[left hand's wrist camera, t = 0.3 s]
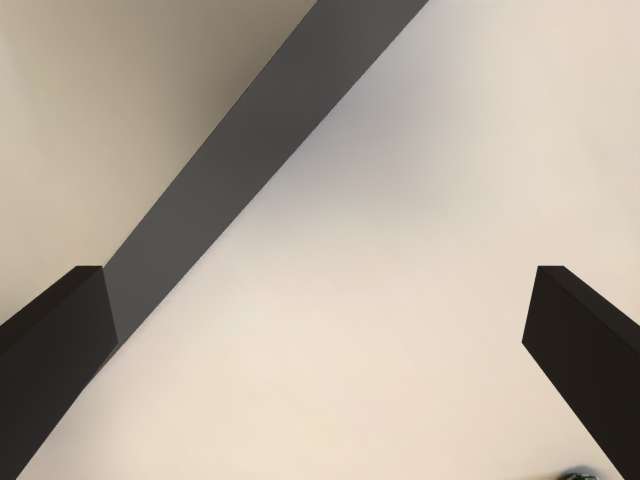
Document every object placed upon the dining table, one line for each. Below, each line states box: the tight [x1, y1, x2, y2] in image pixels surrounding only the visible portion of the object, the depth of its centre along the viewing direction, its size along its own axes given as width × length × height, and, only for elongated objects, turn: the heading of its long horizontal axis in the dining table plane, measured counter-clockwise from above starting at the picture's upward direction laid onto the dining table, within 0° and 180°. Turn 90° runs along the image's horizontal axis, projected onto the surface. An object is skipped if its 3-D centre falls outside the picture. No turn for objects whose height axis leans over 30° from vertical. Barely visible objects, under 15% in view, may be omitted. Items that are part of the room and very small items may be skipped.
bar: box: [85, 0, 429, 387], centre depth 36 cm, size 70×5×9 cm, turn 137°
